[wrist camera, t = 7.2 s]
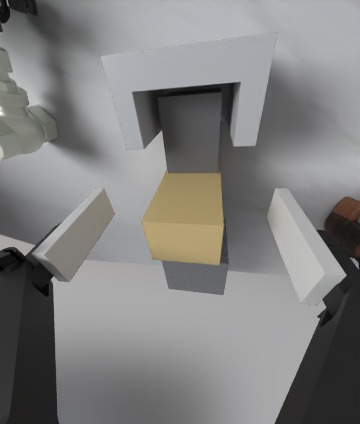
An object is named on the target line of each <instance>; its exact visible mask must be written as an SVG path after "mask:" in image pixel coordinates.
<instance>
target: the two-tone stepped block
mask: <svg viewBox="0 0 360 424" xmlns="http://www.w3.org/2000/svg"><path fill="white" fill-rule="evenodd" d="M158 103H159V111H160V118H161V125H162V133H163V140H164V148H165V155H166V162H167V171H166V173H165V175H164V177H163V179H162V181H161V183H160V185H159V187H158V189H157V191H156V193H155V195H154V197H153V199H152V201H151V203H150V205H149V207H148V209H147V212H146V214H145V216H144V218H143V220H142V225H143V229H144V232H145V235H146V239H147V242H148V245H149V249H150V252H151V255H152V259H154V260H165V261H177V262H189V263H200V264H212V265H219V264H220V255H221V246H222V237H223V228H224V221H223V205H222V189H221V173H220V157H219V155H218V153H219V137H220V120H221V104H222V90H221V88H212V89H200V90H189V91H178V92H169V93H167V94H165V95H163V96H160V97H158Z"/></svg>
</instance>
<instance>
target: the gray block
mask: <svg viewBox="0 0 360 424" xmlns="http://www.w3.org/2000/svg"><path fill="white" fill-rule="evenodd" d="M223 221H224V228H223V237H222V246H221V255H220V264H219V265H212V264H200V263H189V262H177V261H165V260H162V263H163V267H164V271H165V275H166V279H167V283H168V287H169V289H176V290H185V291H193V292H202V293H212V294H219V295H223V294H224V288H225V282H226V276H227V270H228V264H229V263H228V249H227V236H226V223H225V219H223Z"/></svg>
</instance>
